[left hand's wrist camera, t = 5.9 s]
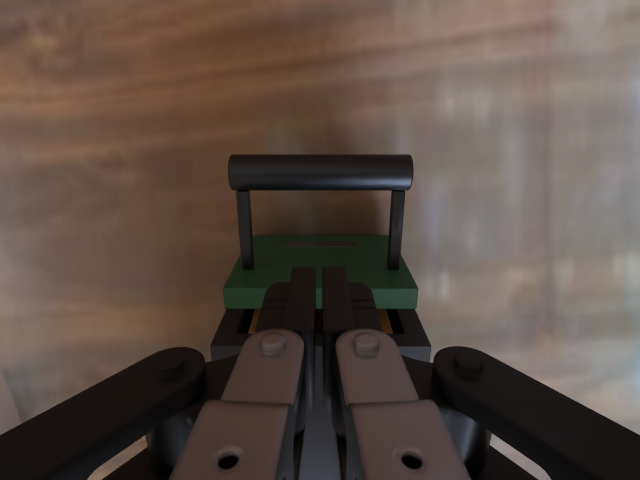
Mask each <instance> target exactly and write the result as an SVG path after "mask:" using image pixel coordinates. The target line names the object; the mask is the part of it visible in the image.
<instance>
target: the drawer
mask: <svg viewBox="0 0 640 480" xmlns="http://www.w3.org/2000/svg"><path fill="white" fill-rule="evenodd" d="M228 178H229V184H230V187H231V189H232V190H237V191H236V196H237V209H238V223H239V236H240V249H241V254H240V256H239V258H238V260H237V262H236V264H235V266H234V268H233V270H232V272H231V274H230V276H229V278H228V280H227V282H226V284H225V286H224V287H223V293H224V304H225V309H255V312H254V316H253V319H252V322H251V325H250V329H249V332H248V334H254V332H255V328H256V325H257V321H258V317H259V314H260V310H261V307H262V303H263V301H264V296H265V292H266V290H267V289H268V288H269V287H270V286H271V285H273V284H274V283H275V282H290V279H291V272H292V267H316V334H322V267H346V273H347V280H348V282H363V283H364V284H365V285H366V286H368V287H369V288H370V289H371V290H372V293H373V297H374V301H375V304H376V309H377V312H378V315H379V319H380V323H381V326H382V330H383V333H385V334H393V331H392V328H391V325H390V321H389V318H388V315H387V312H386V309H416V307H417V297H418V287H417V285H416V283H415V281H414V279H413V277H412V275H411V273H410V271H409V269H408V267H407V265H406V264H405V262H404V260H403V258H402V256H401V254H400V253H401V240H402V227H403V214H404V200H405V191H404V190H409V189H410V188H411V185H412V181H413V160H412V157H411V155H231V156H230V158H229V162H228ZM250 190H392V192H391V208H390V223H389V236H253V234H252V218H251V202H250Z"/></svg>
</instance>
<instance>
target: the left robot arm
mask: <svg viewBox="0 0 640 480" xmlns="http://www.w3.org/2000/svg"><path fill="white" fill-rule="evenodd" d="M315 351H316V267H292V272H291V279H290V282H275V283H274V284H273V285H271V286H270V287H269V288H268V289H267V290H266V292H265V296H264V301H263V303H262V307H261V310H260V314H259V317H258V321H257V325H256V328H255V332H254V334H253V335H251V336H250V337H249V338H248V339H247V340H246V341H245V343H244V344H243V347H242V349H241V351H240V352H239V353H238V354H236V355H234V356H231V357H228V358H225V359H221V360H216V361H211V362H207V363H205V359H204V356H203V355H202V354H201V353H200V352H199V351H197V350H195V349H192V348H187V347H175V348H169V349H165V350H162V351H159V352H157V353H155V354H152V355H150V356H149V357H147V358H145V359H143V360H141V361H139V362H137V363H135V364H134V365H132V366H130V367H128V368H126V369H124V370H122V371H120V372H118V373H117V374H115V375H113V376H111V377H109V378H107V379H105V380H103V381H101V382H100V383H98V384H96V385H94V386H92V387H90V388H88V389H86V390H85V391H83V392H81V393H79V394H77V395H75V396H73V397H71V398H69V399H68V400H66V401H64V402H62V403H60V404H58V405H56V406H54V407H52V408H51V409H49V410H47V411H45V412H43V413H41V414H39V415H37V416H36V417H34V418H32V419H30V420H28V421H26V422H24V423H22V424H20V425H19V426H17V427H15V428H13V429H11V430H9V431H7V432H5V433H4V434H2V435H0V480H87V479H88V478H89V476H90V475H91V474H92V473H93V472H94V471H95V470H96V469H97V468H98V467H99V466H101V465H102V464H104V463H105V462H106V461H108V460H109V459H111V458H112V457H114V456H115V455H117V454H118V453H120V452H121V451H122V450H124V449H125V448H127V447H128V446H130V445H131V444H133V443H134V442H136V441H137V440H139V439H140V438H141V437H143V436H144V435H146V440H147V445H148V447H147V448H146V449H144V450H143V451H141V452H140V453H139V454H137V455H136V456H134V457H133V458H132V459H130V460H129V461H127V462H126V463H125V464H123V465H122V466H120V467H119V468H118V469H116V470H115V471H113V472H112V473H111V474H109V475H108V476H106V477H105V478H104V479H102V480H301V475H302V467H303V458H304V450H305V441H306V426H305V420H306V411H314V407H315ZM322 358H323V411H331V414H332V425H333V428H334V441H335V450H336V458H337V467H338V475H339V480H538V479H536V478H535V477H534V476H532V475H531V474H529V473H528V472H527V471H525V470H524V469H522V468H521V467H520V466H518V465H517V464H515V463H514V462H513V461H511V460H510V459H508V458H507V457H506V456H504V455H503V454H501V453H500V452H499V451H497V450H496V449H494V448H493V447H492V446H490V440H491V434H492V433H493V434H494V435H496V436H497V437H499V438H500V439H501V440H503V441H504V442H506V443H507V444H509V445H510V446H512V447H513V448H515V449H516V450H517V451H519V452H520V453H522V454H523V455H525V456H526V457H528V458H529V459H531V460H532V461H534V462H535V463H536V464H538V465H539V466H540V467H541V468H543V469H544V470H545V471H546V473H547V474H548V475H549V476H550V478H551V480H640V435H638V434H636V433H635V432H633V431H631V430H629V429H627V428H625V427H623V426H621V425H620V424H618V423H616V422H614V421H612V420H610V419H608V418H606V417H604V416H603V415H601V414H599V413H597V412H595V411H593V410H591V409H589V408H587V407H586V406H584V405H582V404H580V403H578V402H576V401H574V400H572V399H571V398H569V397H567V396H565V395H563V394H561V393H559V392H557V391H555V390H554V389H552V388H550V387H548V386H546V385H544V384H542V383H540V382H539V381H537V380H535V379H533V378H531V377H529V376H527V375H525V374H523V373H522V372H520V371H518V370H516V369H514V368H512V367H510V366H508V365H506V364H505V363H503V362H501V361H499V360H497V359H495V358H493V357H491V356H490V355H488V354H486V353H484V352H481V351H479V350H476V349H473V348H468V347H461V346H453V347H447V348H444V349H442V350H440V351H438V352H437V353H436V355H435V357H434V361H433V363H430V362H425V361H420V360H416V359H412V358H409V357H406V356H403V355H401V354H400V351H399V349H398V347H397V344H396V343H395V341H394V340H393V339H392V338H391V337H390V336H389V335H387V334H385V333H383V330H382V326H381V323H380V319H379V315H378V312H377V309H376V304H375V301H374V297H373V293H372V290H371V289H370V288H369V287H368V286H366V285H365V284H364V283H363V282H348V280H347V273H346V267H322Z"/></svg>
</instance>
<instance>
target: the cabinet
mask: <svg viewBox="0 0 640 480" xmlns="http://www.w3.org/2000/svg"><path fill="white" fill-rule="evenodd" d="M254 312H255V309H226V311H225V314H224V316H223V318H222V320H221V323H220V325H219V327H218V329H217V332H216V334H215V336H214V339H213V341H212V343H211V345H210V349H211V358H212V361H216V360H221V359H225V358H228V357H231V356H234V355H236V354H238V353H239V352H240V351H241V349H242V347H243V344H244V343H245V341H246V340H247V339H248V338H249V337H250V336H251V335H253V334H248V332H249V329H250V325H251V322H252V319H253V316H254ZM386 312H387V315H388V318H389V321H390V325H391V328H392V331H393V334H387V335H389V336H390V337H391V338H392V339H393V340H394V341H395V343H396V344H397V347H398V349H399V351H400V354H401V355H403V356H406V357H409V358H412V359H416V360H420V361H425V362H429V361H430V352H431V345H430V342H429V340H428V338H427V336H426V333H425V331H424V329H423V327H422V324H421V322H420V320H419V318H418V315H417V313H416V311H415V309H386ZM305 426H306V441H305V450H304V458H303V467H302V475H301V480H339V475H338V467H337V458H336V450H335V441H334V428H333V425H332V414H331V411H323V358H322V334H316V351H315V407H314V411H306V420H305Z"/></svg>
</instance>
